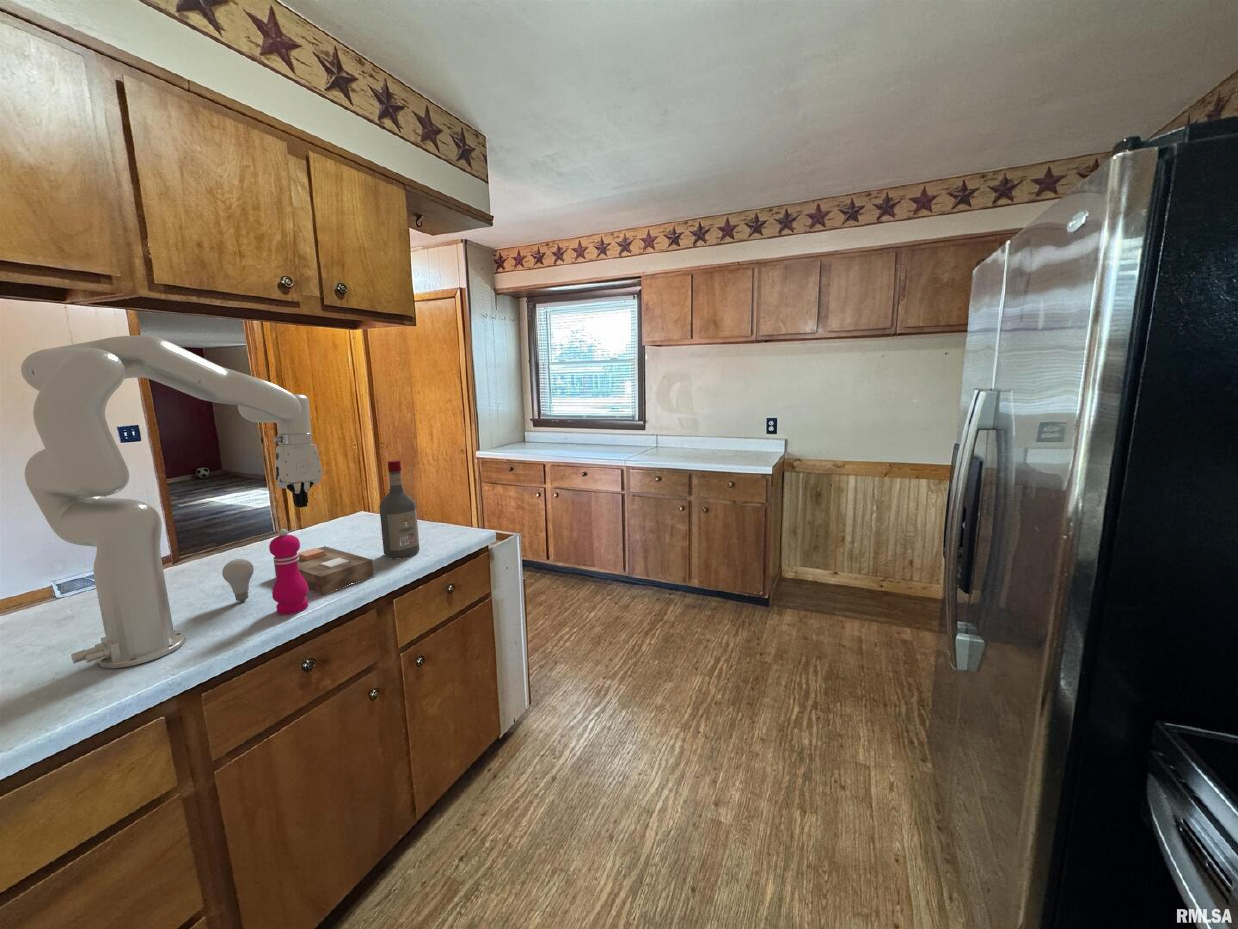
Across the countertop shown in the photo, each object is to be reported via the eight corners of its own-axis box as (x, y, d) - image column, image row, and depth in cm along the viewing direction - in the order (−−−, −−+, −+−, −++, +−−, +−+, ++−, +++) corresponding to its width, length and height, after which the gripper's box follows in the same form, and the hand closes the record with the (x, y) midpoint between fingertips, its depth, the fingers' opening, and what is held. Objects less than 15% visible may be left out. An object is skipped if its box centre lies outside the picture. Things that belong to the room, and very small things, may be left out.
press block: (322, 595, 124) (320, 576, 123) (276, 577, 136) (273, 560, 135) (373, 576, 136) (372, 559, 135) (326, 561, 148) (325, 546, 147)
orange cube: (308, 573, 135) (306, 556, 134) (299, 569, 138) (296, 553, 137) (326, 567, 139) (324, 550, 139) (317, 564, 142) (315, 548, 141)
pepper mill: (292, 617, 112) (282, 534, 109) (266, 615, 113) (255, 532, 110) (317, 603, 119) (308, 525, 116) (293, 601, 120) (283, 524, 117)
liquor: (422, 553, 155) (415, 460, 150) (394, 560, 148) (385, 464, 143) (409, 547, 161) (401, 458, 156) (381, 554, 154) (372, 461, 149)
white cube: (332, 584, 129) (330, 566, 129) (322, 580, 132) (320, 563, 131) (350, 578, 134) (349, 560, 133) (340, 574, 136) (338, 557, 135)
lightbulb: (225, 609, 117) (218, 565, 115) (228, 600, 122) (222, 558, 120) (256, 602, 120) (250, 560, 118) (258, 594, 125) (252, 553, 123)
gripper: (271, 442, 122) (278, 513, 124) (331, 439, 135) (336, 503, 137) (257, 441, 126) (263, 510, 128) (316, 438, 139) (321, 500, 141)
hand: (301, 506), depth 133 cm, fingers closed
